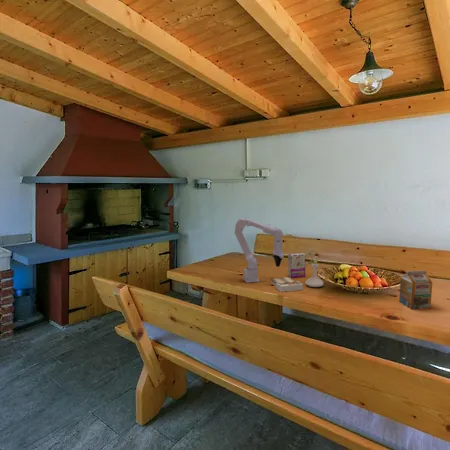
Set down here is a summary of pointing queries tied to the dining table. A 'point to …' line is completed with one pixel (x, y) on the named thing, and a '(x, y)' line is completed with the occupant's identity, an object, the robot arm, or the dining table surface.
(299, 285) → the tray
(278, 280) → the birch board
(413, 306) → the milk carton
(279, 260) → the robot arm
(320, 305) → the dining table surface
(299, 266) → the candy bar box
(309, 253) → the flower in vase
